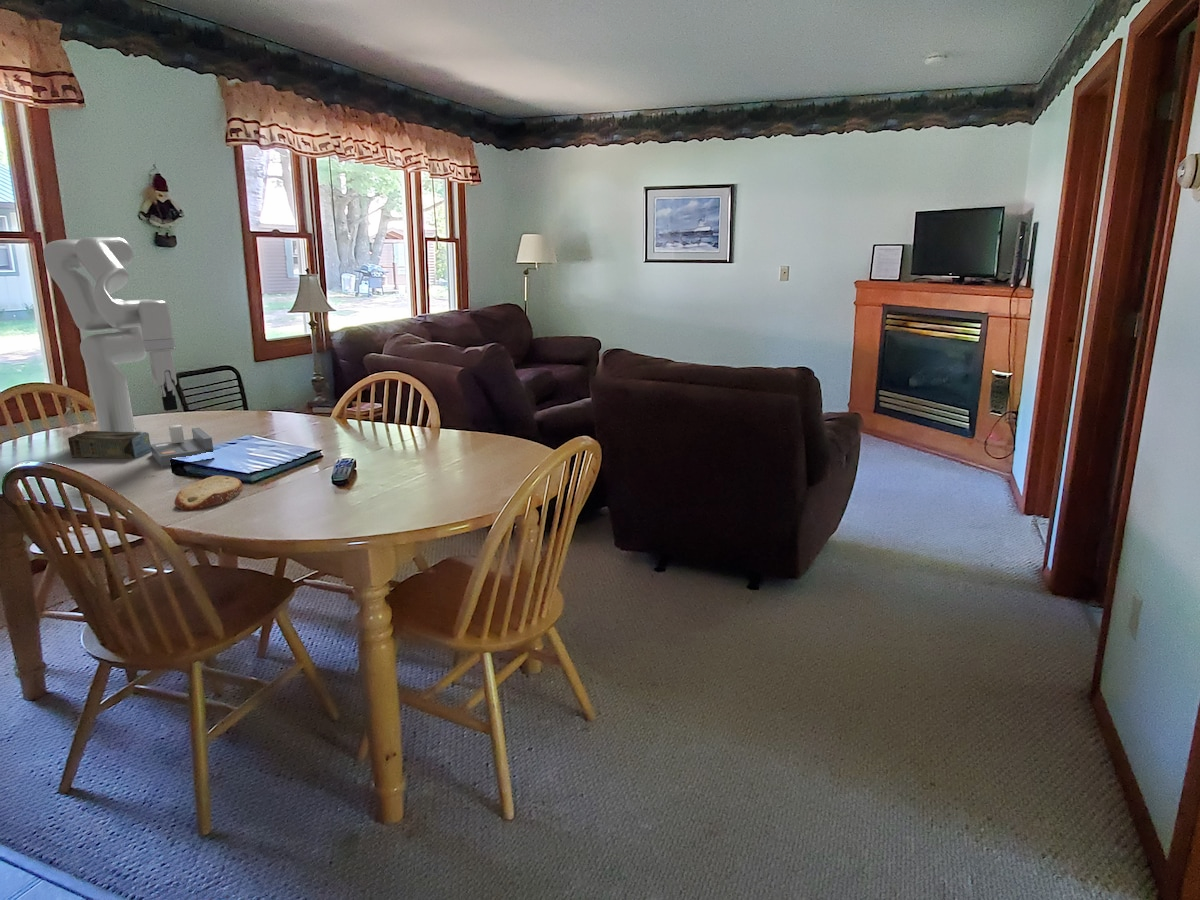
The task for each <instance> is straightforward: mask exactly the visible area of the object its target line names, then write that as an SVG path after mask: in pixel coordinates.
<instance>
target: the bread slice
mask: <svg viewBox="0 0 1200 900" xmlns="http://www.w3.org/2000/svg"><path fill="white" fill-rule="evenodd" d="M243 489H244V487H243V482H242V481H241V480H240V479H239V478H238V477H234V476H229V475H212V476H209V477H206V478H204V479H200V480H198V481H195V482H194V483H191V484H189V485H188V486H186V487H185V488H182V489H180V490H179V491H178V492H177V494H176V497H175V499H174V503H173V504H174V505H175V507H177V508H178V509H179V510H181V511H183V512H190V511H192V512H193V511H201V510H206V509H209V508H211V507H215V506H219V505H222V504H226V503H227V502H230V501H231V500H234V499H235V498H236V497H238V496H239V495H240V493H241V492H242V491H243Z"/></svg>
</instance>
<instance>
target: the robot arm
mask: <svg viewBox="0 0 1200 900" xmlns="http://www.w3.org/2000/svg"><path fill="white" fill-rule="evenodd" d="M42 253H43V260H44V264H45V267H46V269H47V272H48V273H49V275H50V277H51V279H52V280H53V281H54V282H55V283H56V285H57V286H58V288H59V289H60V291H61V293H62V295H63V297H64V299H65V300H64V301H65V303H66V305H67V307H68V308H67V309H68V310H69V312H70V315H71V317H72V319H73V322H74V324H75V325H76V327H77V328H78V329H79V330H80V331H81V332H84V333H95V332H98V333H96V334H92V335H88V336H86V337H84V338H83V339H82V340H81V342H80V344H79V351H80V354H81V357H82V360H83V362H84V365H85V368H86V370H87V373H88V379H89V385H90V389H91V394H92V400H93V404H94V410H95V417H96V421H97V422H96V423H97V427H98V431H108V432H142V429H140V428H137V427H135V421H134V416H133V414H134V413H133V409H132V404H131V399H130V391H129V387H128V380H127V377H126V376H125V374H124V373H123V372H122V371H121V370H119V368H118V367H117V366H116V365H120V364H122V365H123V364H128V363H135V362H140V361H142V360H144V359H145V358H146V356H147V353H149V354H148V355H149V356H148V357H149V364H150V370H151V378H152V384H153V385H154V386H156V387H158V388H160V392H161V399H162V405H163V406H162V407H163V410H164V411H166V412H167V411H169V412H170V411H175V410H178V403H177V398H176V394H175V387H174V386H177V383H178V381H177V380H178V379H177V373H176V369H175V368H176V367H175V361H174V356H173V353H172V351H175V350H176V342H175V337H174V332H173V331H174V330H173V325H172V320H171V313H170V307H169V304H168V303H167V301H165V300H163V299H161V300H160V299H158V300H155V299H150V298H147V299H146V298H145V299H127V300H124V299H121V298H113V297H111V295H112V294H114V293H116V292H118V291H119V290H121V289H123V288H124V287H125V286H126V285H127V284H128V282H129V279H130V274H129V271H128V270H127V269H126V268H125V267H128V266H129V265H131V264H132V262H133V261H134V251H133V248H132V246H131V244H130V243H129V242H128V241H127V240H126V239H124V238H122V237H119V236H88V237H83V238H77V239H76V238H74V239H73V238H72V239H71V238H69V239H58V240H53V241H50V242H48V243H47V244H46V245H44V248H43V252H42ZM77 269H85V270H86V271H87V272H88V274H89V275H90V277H92V279H93V280H94V281H95V285H94V283H93V282H92V281H91V280H89V278H88V277H86V276H85V275H84V274H82V273H81V272H79V271H78V270H77ZM107 331H115V332H107ZM99 332H102V333H99ZM103 332H104V333H103ZM105 332H106V333H105Z"/></svg>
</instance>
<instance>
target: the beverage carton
mask: <svg viewBox="0 0 1200 900" xmlns="http://www.w3.org/2000/svg"><path fill="white" fill-rule="evenodd" d="M67 440H68V441H67V442H68V445H69V450H70V455H71V458H72V457H73V458H75V457H104V458H103V459H137V458H139V457H141V455H142V456H144V455H147V454H148V453H152V452H151V446H150V445H152V444H151V441H150V434H149V432H143V431H141V432H108V431H99V430H89V431H88V430H85V431H83V432H81V433H77V434H74V435H73V436H70V437H68V438H67Z"/></svg>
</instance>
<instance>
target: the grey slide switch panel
mask: <svg viewBox="0 0 1200 900" xmlns="http://www.w3.org/2000/svg"><path fill="white" fill-rule="evenodd" d="M191 434H192V438H188V439H184V442H179V443H172V442H171V441H168V442H167V441H166V442H159V443H153V444H151V445H150V446H151V452H150V453H151V456H152V457H153V458H154V459H155V461H156V462H157V463H158V464H159V466H160V467H161V468H167V467H171V466H170V460H171V459H172V458H176V457H186V456H192V455H197V454H201V453H206V452H213V451H214V444H213V438H212V437H211V436H210V435H209V434H208V433H206V432H205V430H203V429H202V428H200V427H194V428H193V427H192V428H191Z"/></svg>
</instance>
